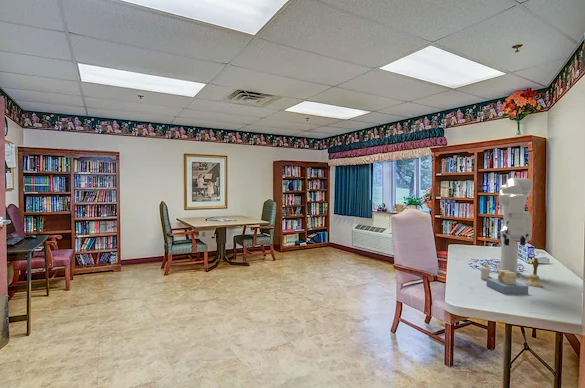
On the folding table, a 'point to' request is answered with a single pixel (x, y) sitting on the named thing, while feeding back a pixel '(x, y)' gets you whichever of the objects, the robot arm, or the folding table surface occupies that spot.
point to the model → (485, 272)
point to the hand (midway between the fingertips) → (514, 245)
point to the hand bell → (534, 276)
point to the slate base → (507, 287)
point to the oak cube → (506, 277)
